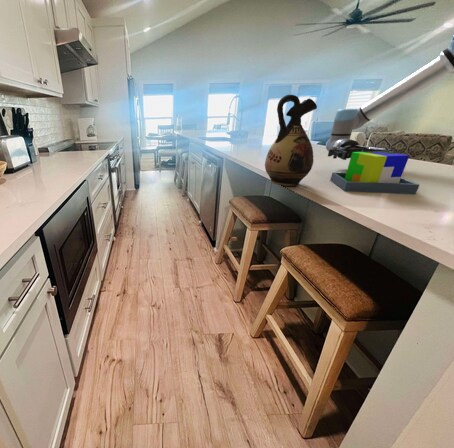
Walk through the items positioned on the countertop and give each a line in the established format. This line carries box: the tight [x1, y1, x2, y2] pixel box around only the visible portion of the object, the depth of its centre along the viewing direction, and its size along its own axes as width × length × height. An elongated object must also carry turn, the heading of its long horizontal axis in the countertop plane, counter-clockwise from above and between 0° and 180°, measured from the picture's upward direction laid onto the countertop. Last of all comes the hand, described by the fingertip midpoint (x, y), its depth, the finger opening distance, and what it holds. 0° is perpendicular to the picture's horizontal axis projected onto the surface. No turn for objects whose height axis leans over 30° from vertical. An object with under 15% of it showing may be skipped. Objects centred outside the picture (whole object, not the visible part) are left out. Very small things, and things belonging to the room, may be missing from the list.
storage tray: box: [330, 172, 420, 195], centre depth 82 cm, size 19×15×3 cm
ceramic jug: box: [259, 94, 318, 187], centre depth 85 cm, size 17×15×30 cm
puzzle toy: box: [345, 151, 410, 183], centre depth 80 cm, size 10×10×10 cm
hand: (368, 156), depth 85 cm, fingers open, 13 cm apart
